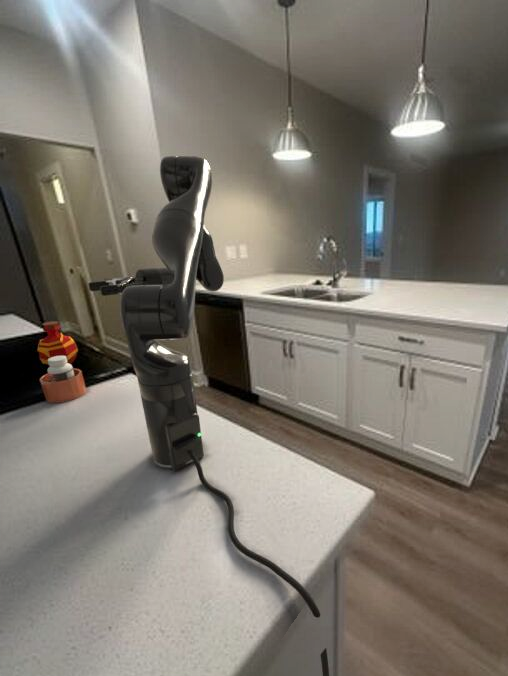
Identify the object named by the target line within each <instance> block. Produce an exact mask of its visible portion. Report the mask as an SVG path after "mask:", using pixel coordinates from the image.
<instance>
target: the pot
mask: <svg viewBox="0 0 508 676" xmlns="http://www.w3.org/2000/svg"><path fill="white" fill-rule="evenodd" d="M73 371H74V375H75V377H73V378H70V379H68V380H64V381H59V382H51V381H50V378H49V375H48V372H47V373H46V374H44V375H42V376H41V377H40V378H39V384H40V386H41V390H42V393H43V396H44V399H45V401H46V402H49V403H64V402H69V401H72V400H75V399H78V398H81V397H82V396H83V395H84V394H86V392H87V386H86V382H85V379H84V374H83V371H82V370H81V369H80V368H75V367H73Z"/></svg>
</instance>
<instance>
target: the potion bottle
mask: <svg viewBox="0 0 508 676" xmlns="http://www.w3.org/2000/svg"><path fill="white" fill-rule="evenodd" d="M41 325H42V327H43V328H42V330H43V332H44V333H47V336H45V337H43V338H42V339H39V342H38V345H37V351H36V352H38V357H39V360H40V361H41V363H42V364H44V365H47V366H48V367H50V365H49V364H48V359H49V358H51V357H55V356H66V358H67V363H69V364H71V365H72V364H73V363H74V361H75V360H76V358H77V356H78V352H79V348H78V346H77V344H76V341H75V340H74V339H73V338H72V337H71V336H70V335H65V334H63V333H62V332H59V331H60V330H61V326H60V325H59V321H55V320H52V321H46V322H43V323H42V324H41ZM72 368H74V367H73V366H72Z"/></svg>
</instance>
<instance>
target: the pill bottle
mask: <svg viewBox="0 0 508 676" xmlns="http://www.w3.org/2000/svg"><path fill="white" fill-rule="evenodd" d="M48 364H49V365H50V366H48V368H47V373H48V375H49V378H50V381H51V382H59V381H64V380H68V379H70V378H73V377H75V375H74V371H73V368H74V367H73V365H72V364H69V363H67V358H66V356H55V357H51V358H49V359H48ZM72 367H73V368H72Z"/></svg>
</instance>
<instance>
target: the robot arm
mask: <svg viewBox="0 0 508 676" xmlns="http://www.w3.org/2000/svg"><path fill="white" fill-rule="evenodd" d="M159 175H160V181H161V185H162V189H163V192H164V193H165V196H166V198H167V201H168V202H167V203H166V204H165V205H164V206H163V207H161V209H160V211H159V212H158V214H157V217H156V220H155V222H154V227H153V230H152V234H151V241H152V242H151V243H152V247H153V250H154V251H155V253H156V255H157V256H158V258H159V259H160V261H161V262H162V264H164V266H165V267H164V266H163V267H162V266H161V267H152V268H151V267H150V268H140V269H138V270H137V271H136V272H135V277H132V276H123V277H113V278H104V279H103V280H100V281H99V280H98V281H90V282H88V284H87V285H88V290H89V291H90V292H98V291H99V292H100V295H101V296H104V297H107V296H112V295H120V298H119V315H120V320H121V325H122V329H123V333H124V336H125V340H126V343H127V347H128V352H129V355H130V360H131V364H132V368H133V370H134V372H135V374H136V378H137V383H138V388H139V393H140V399H141V404H142V410H143V414H144V415H143V416H144V419H145V424H146V430H147V434H148V440H149V444H150V449H151V450H150V451H151V457H152V461H153V464H154V465H156V466H157V467H159V468H161V469H168V470H169V469H170V470H173V471H174V472H176V471H179V470H180V469H183V468H185V467H186V466H188V465H190V464H192V463H193V464H194V466H195V468H196V471H197V475H198V479H199V481H200V483H201V484H202V485H203V486H204V487H205V488H206V489H207V490H208V491H209V492H211V493H213V494H215V495H217V496H218V497H220V498H222V500H223V501H224V502H225V503H226V506H227V509H228V521H227V524H228V525H227V527H228V529H227V530H228V535H229V538H230V540H231V543H232V544H233V546H234V547H235V548H236V549H237V550H238V551H239V552H240V553H242V554H243V555H244V556H246V557H248V558H249V559H251V560H253V561H255V562H257V563H260V564H262V565H264V566H265V567H267V568H268V569H270V570H271V571H272V572H273V573H275V574H276V575H277V576H279V578H281V579H282V580H283V581H285V582H286V583H287V584H288V585H290V586H291V587H292V588H293V589H294V590H295V591H296V592H298V594H299V595H300V597H301V598H302V599H303V600H304V601H305V603H306V605H307V606H308V608H309V610H310V612H311V614H312V616H313V617H315V618H317V619H319V618H320V617H321V612H320V610H319V607H318V605H317V604H316V602H315V601H314V599H313V598H312V595H310V593H309V592H308V591H307V588H305V587H304V586H303V585H302V584H301V583H300V582H299V581H298V580H296V579H295V578H294V577H293V576H291V575H290V574H289V573H288V572H286V571H284V570H283V569H282V568H281V567H280V566H279V565H277V564H276V563H274V562H273V561H272V560H270V559H268V558H266V557H264V556H262V555H260V554H258V553H256V552H254V551H252V550H251V549H249V548H247V547H246V546H245V545H243V543H241V541H240V540H239V539H238V537H237V535H236V532H235V525H234V524H235V509H234V505H233V502H232V500H231V498H230V497H229V495H228V494H227V493H225V492H224V491H223V490H220V489H218V488H216V487H214V486H213V485H212V484H210V483H209V482H208V481H207V479H206V478H205V475H204V472H203V468H202V465H201V462H200V461H199V460H200V459H201V458H203V457H205V453H204V446H203V445H204V444H203V437H202V430H201V423H200V415H199V414H198V407H197V399H196V392H195V391H196V390H195V384H194V383H195V382H194V375H193V368H192V362H191V359H190V357H189V356H188V355H187V354H186V353H183V352H181V351H177V350H174V349H172V348H169V347H167V346H166V345H163V344H162V343H161V342H159V341H178V340H179V341H180V340H184V339H186V338H188V337H189V336H190V335H191V333H192V330H193V325H194V320H195V309H196V288H197V287H196V286H197V282H198V283H199V284H200V285H201V286H202V287H203V288H204V289H205V290H206V291H208V292H211V293H213V292H218V291H219V290H220V289H222V287H223V286H224V282H225V277H224V276H225V275H224V273H223V269H222V266H221V264H220V262H219V260H218V258H217V256H216V255H217V254H216V250H215V244H214V239H213V237H212V235H211V233H210V231H209V229H208V228H207V227H206V225H205V217H206V212H207V208H208V204H209V202H210V198H211V194H212V187H213V176H212V170H211V167H210V165H209V163H208V161H207V160H206V159H204V158H203V157H200V156H195V155H191V156H190V155H167V156H163V158H161V161H160V165H159ZM110 283H112V284H110ZM320 663H321V672H322V676H330V669H329V659H328V651H327V647H324V650H322V651H321V653H320Z"/></svg>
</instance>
